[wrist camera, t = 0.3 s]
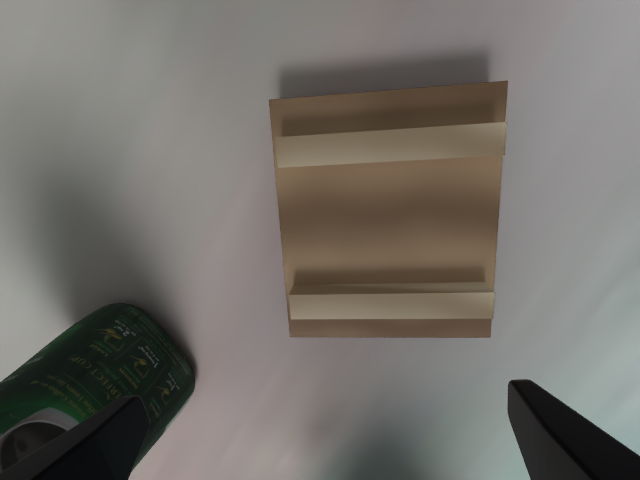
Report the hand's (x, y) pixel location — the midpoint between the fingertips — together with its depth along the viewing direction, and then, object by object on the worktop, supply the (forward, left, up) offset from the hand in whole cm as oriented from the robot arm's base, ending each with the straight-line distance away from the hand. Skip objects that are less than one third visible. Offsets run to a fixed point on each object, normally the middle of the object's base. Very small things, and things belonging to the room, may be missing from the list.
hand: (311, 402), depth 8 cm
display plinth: (+1, -3, -15) cm, 15 cm away
